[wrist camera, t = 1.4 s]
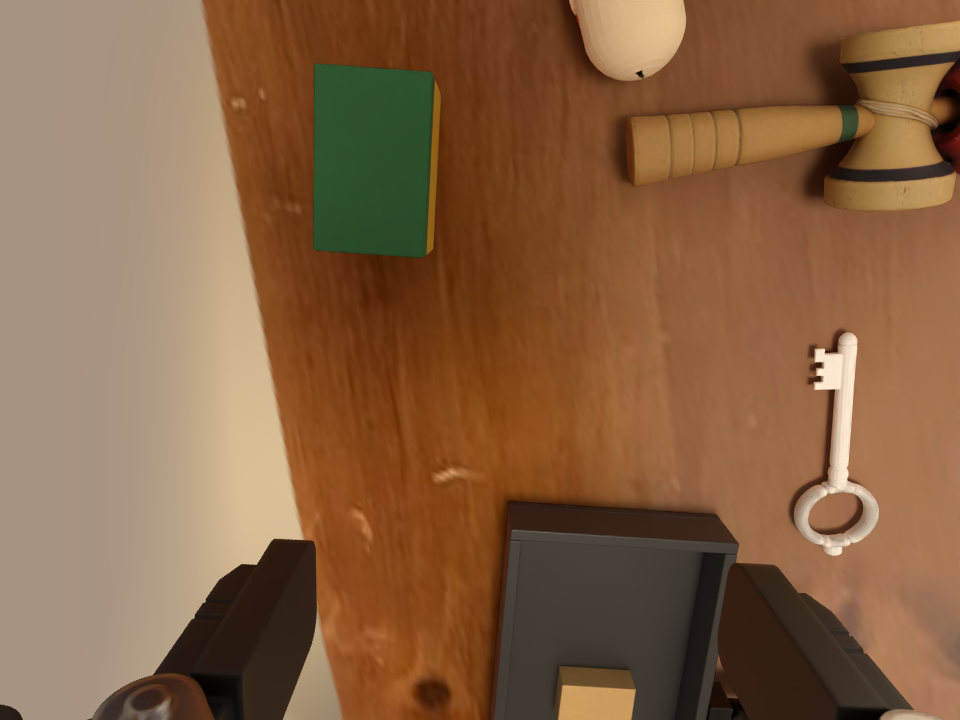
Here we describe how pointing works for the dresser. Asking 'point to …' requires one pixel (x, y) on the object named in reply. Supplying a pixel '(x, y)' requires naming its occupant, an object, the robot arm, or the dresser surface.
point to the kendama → (836, 127)
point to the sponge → (375, 160)
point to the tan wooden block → (594, 694)
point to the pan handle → (724, 706)
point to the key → (838, 450)
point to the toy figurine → (630, 34)
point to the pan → (610, 606)
